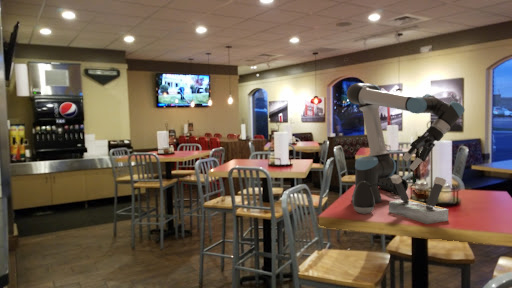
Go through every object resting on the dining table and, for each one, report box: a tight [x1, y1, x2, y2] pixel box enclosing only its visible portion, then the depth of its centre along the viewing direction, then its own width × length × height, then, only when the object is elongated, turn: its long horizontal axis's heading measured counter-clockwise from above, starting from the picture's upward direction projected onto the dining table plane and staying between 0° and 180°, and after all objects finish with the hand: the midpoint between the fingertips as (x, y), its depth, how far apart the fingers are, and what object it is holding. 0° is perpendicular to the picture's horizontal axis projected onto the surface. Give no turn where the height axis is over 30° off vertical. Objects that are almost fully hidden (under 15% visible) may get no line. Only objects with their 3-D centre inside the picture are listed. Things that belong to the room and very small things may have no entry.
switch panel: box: [388, 198, 449, 225], centre depth 176 cm, size 23×12×5 cm, turn 22°
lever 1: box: [390, 174, 410, 203], centre depth 180 cm, size 4×3×14 cm
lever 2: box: [426, 176, 447, 209], centre depth 170 cm, size 4×3×14 cm
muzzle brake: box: [378, 175, 409, 196], centre depth 233 cm, size 10×28×10 cm, turn 8°
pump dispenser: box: [352, 181, 376, 215], centre depth 184 cm, size 10×10×15 cm
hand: (408, 164), depth 187 cm, fingers open, 13 cm apart
